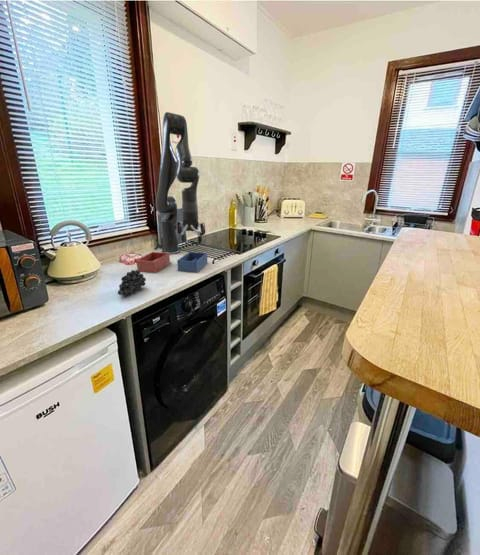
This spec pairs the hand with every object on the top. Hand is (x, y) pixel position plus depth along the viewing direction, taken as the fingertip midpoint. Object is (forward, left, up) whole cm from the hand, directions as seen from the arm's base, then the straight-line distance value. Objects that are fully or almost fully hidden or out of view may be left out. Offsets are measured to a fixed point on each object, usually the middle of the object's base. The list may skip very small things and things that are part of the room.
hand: (191, 242), depth 140 cm
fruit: (-13, -37, -13) cm, 41 cm away
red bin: (-20, -6, -13) cm, 24 cm away
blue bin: (0, -1, -13) cm, 13 cm away
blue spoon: (0, -1, -12) cm, 13 cm away
